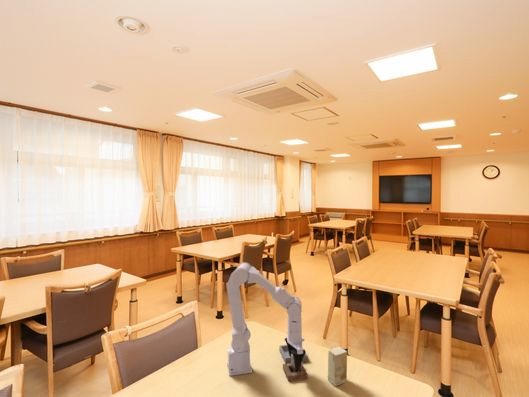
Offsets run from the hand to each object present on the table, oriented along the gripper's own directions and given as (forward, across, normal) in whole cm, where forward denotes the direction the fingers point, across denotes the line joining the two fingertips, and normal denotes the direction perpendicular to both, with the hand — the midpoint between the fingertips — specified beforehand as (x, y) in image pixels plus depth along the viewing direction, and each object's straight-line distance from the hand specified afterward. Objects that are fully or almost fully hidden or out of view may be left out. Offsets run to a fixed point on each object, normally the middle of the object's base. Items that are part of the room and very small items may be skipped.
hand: (294, 361), depth 116 cm
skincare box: (+5, -8, -15) cm, 18 cm away
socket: (+5, 0, 0) cm, 5 cm away
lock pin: (+5, 0, 0) cm, 5 cm away
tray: (+5, +12, -3) cm, 13 cm away
